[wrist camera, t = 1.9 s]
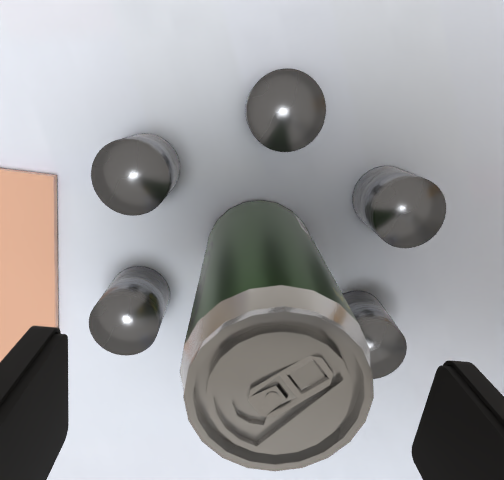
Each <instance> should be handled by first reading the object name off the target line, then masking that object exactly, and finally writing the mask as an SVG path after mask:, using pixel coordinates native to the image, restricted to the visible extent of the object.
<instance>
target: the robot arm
mask: <svg viewBox="0 0 504 480" xmlns="http://www.w3.org/2000/svg"><path fill="white" fill-rule="evenodd" d="M67 431H68V337H67V335H66V334H61V333H60V329H59V328H57V327H45V326H32V327H30V328H29V329H28V331H27V332H26V333H25V334H24V335H23V336H22V338H21V339H20V340H19V341H18V342H17V343H16V345H15V346H14V347H13V348H12V349H11V350H10V351H9V353H8V354H7V355H6V356H5V357H4V358H3V360H2V361H1V362H0V480H46V479H47V477H48V475H49V473H50V471H51V469H52V467H53V465H54V462H55V460H56V458H57V456H58V454H59V452H60V450H61V448H62V446H63V443H64V441H65V439H66V435H67ZM412 457H413V461H414V463H415V465H416V467H417V469H418V471H419V473H420V475H421V476H422V478H423V480H504V396H503V395H502V394H501V393H500V392H499V391H498V390H497V389H496V388H495V387H494V386H493V385H492V384H491V383H490V381H489V380H488V379H487V378H486V377H485V376H484V375H483V374H482V373H481V372H480V371H479V370H478V369H477V368H476V367H475V365H473V364H472V363H470V362H461V361H446V362H445V363H444V364H443V366H439V367H438V369H437V371H436V374H435V377H434V380H433V383H432V386H431V390H430V393H429V396H428V399H427V402H426V405H425V408H424V411H423V414H422V417H421V420H420V424H419V427H418V430H417V433H416V436H415V439H414V442H413V445H412Z"/></svg>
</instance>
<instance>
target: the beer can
mask: <svg viewBox="0 0 504 480" xmlns="http://www.w3.org/2000/svg"><path fill="white" fill-rule="evenodd" d="M180 375H181V380H182V385H183V390H184V401H185V406H186V411H187V415H188V420H189V422H190V423H191V425H192V427H193V428H194V430H195V431H196V433H197V434H198V436H199V437H200V439H201V441H202V442H203V443H205V444H206V445H207V446H208V447H210V448H211V449H212V450H213V451H215V452H216V453H217V454H218V455H220V456H221V457H222V458H224V459H227V460H229V461H232V462H234V463H237V464H239V465H242V466H244V467H247V468H253V469H261V470H269V471H280V470H288V469H296V468H303V467H306V466H308V465H311V464H313V463H316V462H319V461H321V460H324V459H326V458H328V457H330V456H331V455H333V454H334V453H335V452H337V451H338V450H339V449H341V448H342V447H344V446H345V445H346V444H348V443H349V442H350V441H351V440H352V438H353V437H354V436H355V434H356V433H357V432H358V431H359V429H360V428H361V427H362V425H363V424H364V423H365V421H366V418H367V415H368V413H369V410H370V407H371V404H372V401H373V398H374V397H373V373H372V370H371V368H370V349H369V346H368V344H367V341H366V339H365V337H364V335H363V332H362V330H361V328H360V325H359V323H358V321H357V320H356V318H355V316H354V314H353V312H352V311H351V309H350V307H349V305H348V303H347V302H346V300H345V298H344V296H343V294H342V293H341V291H340V289H339V287H338V285H337V283H336V282H335V280H334V278H333V276H332V274H331V273H330V271H329V269H328V267H327V265H326V264H325V262H324V260H323V258H322V256H321V255H320V253H319V251H318V249H317V247H316V246H315V244H314V242H313V240H312V238H311V237H310V235H309V233H308V231H307V229H306V227H305V226H304V224H303V222H302V221H301V220H300V219H299V218H298V217H297V216H296V215H295V214H294V213H293V212H292V211H291V210H289V209H287V208H285V207H283V206H282V205H280V204H278V203H273V202H268V201H262V200H259V201H252V202H244V203H242V204H240V205H238V206H236V207H233V208H231V209H229V210H228V211H227V212H226V213H225V214H224V215H223V216H222V217H221V218H219V219H218V220H217V222H216V224H215V225H214V227H213V229H212V231H211V233H210V235H209V239H208V243H207V248H206V252H205V256H204V261H203V265H202V269H201V274H200V278H199V283H198V287H197V291H196V296H195V300H194V304H193V309H192V313H191V318H190V322H189V326H188V331H187V335H186V339H185V344H184V349H183V355H182V361H181V367H180Z"/></svg>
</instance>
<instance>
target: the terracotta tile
mask: <svg viewBox="0 0 504 480" xmlns="http://www.w3.org/2000/svg"><path fill="white" fill-rule="evenodd" d="M32 326H45V327H57V328H58V243H57V175H52V174H44V173H36V172H28V171H20V170H12V169H4V168H0V362H1V361H2V360H3V358H4V357H5V356H6V355H7V354H8V353H9V351H10V350H11V349H12V348H13V347H14V346H15V345H16V343H17V342H18V341H19V340H20V339H21V338H22V336H23V335H24V334H25V333H26V332H27V331H28V329H29V328H30V327H32Z"/></svg>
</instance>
